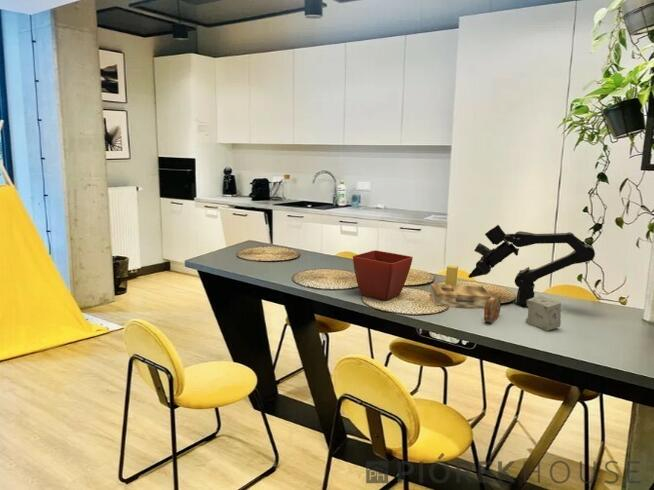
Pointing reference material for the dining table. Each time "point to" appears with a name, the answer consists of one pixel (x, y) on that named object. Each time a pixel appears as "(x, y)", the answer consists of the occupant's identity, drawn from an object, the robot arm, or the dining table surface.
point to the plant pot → (381, 273)
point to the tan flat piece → (459, 295)
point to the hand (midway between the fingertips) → (470, 274)
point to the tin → (492, 309)
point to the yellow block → (451, 275)
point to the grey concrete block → (543, 313)
